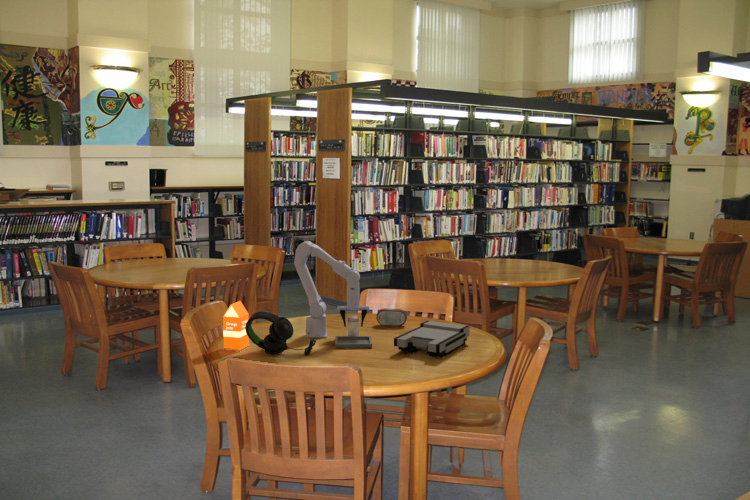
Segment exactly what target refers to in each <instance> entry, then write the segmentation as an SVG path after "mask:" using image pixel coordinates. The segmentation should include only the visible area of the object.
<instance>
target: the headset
mask: <svg viewBox="0 0 750 500" xmlns="http://www.w3.org/2000/svg"><path fill="white" fill-rule="evenodd" d="M261 319H262V320H266V321H268V322H271V324H270V326H269V328H268V331H269V333H268V334H267V335H266V336H265V337H264V338H263V339H262V338H260V336H258V335H257V334H256V332H255V330H254V329H253V327H252V324H253V321H256V320H261ZM245 330H246V333H247V335H248V337H249V341H251V342H252V343H253V344H255V346H257V347H258V348H260V349H262V350H264V353H266V355H269V354H270V355H269V356H276V355H280V354H282V353H283V352H285V351H287V350H294V351H301V350H304V351H303V354H304V355H305V356H308V355H310V354H311V353H312V351H313V349H314V348H313V347H314V346H315V345H316V342H317V340H316V339H315V338H312V339H310V340H309V344H308V346H307V347H305V348H299V349H298V348H297V349H295V348H292V347H288V343H287V340H290V339H291V338H292V337H293V335H294V326H293V324H292V322H291V321H290V320H289V319H288V318H287V317H284V316H278V315H276V314H274V313H271V312H268V311H257V312H254V313H252V314H251V316H249V319H248V321H247V323H246V326H245Z"/></svg>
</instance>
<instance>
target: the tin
mask: <svg viewBox="0 0 750 500" xmlns="http://www.w3.org/2000/svg"><path fill="white" fill-rule="evenodd" d="M375 317H376V321H377V323H378V324H379V325H381V326H386V327H401V326H403V325H405V323H406V322H407V321H408V315H407V313H406V312H405V310H403V309H401V308H380V309H379V310H378V311H377V313H376V316H375Z"/></svg>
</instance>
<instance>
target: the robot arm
mask: <svg viewBox="0 0 750 500" xmlns="http://www.w3.org/2000/svg"><path fill="white" fill-rule="evenodd" d="M309 257H317V258H319V259H321V260H322V261H324V262H325V263H327V264H328V265H330V266H331V267H332V271H333V272H335V273H336V274H338V276H340V277H341V278H343V279H345V281H346V282H347V286H346V305H337V312H339V315H340V317H341V319H342V321H343V322H342V323H343V327H345V328H347V327H346V326H347V324H346V312H347V311H348V312H351V311H352V312H358V311H359V312H360V311H361V313H360V314H361V315H360V317H361V321H360V326H361V327H360V328H362V327H363V325H364V321H365V319H366V318H365V317H366V316H367V313H368V312H370V306H369V305H360V302H361V301H360V298H361V297H360V294H361V293H360V280H361V279H360V278H361V274H360V272H359V271H358V270H357V269H354V267H351V266H349V265H348V264H346V261H345V260H340V259H339V260H336V259H335V258H334V257H332V255H330V254H329V253H327V252H326V250H324V249H323V248H321V247H320V246H319V245H317V244H316V243H314V242H312V241H310V240H304V241H303V242H300V244H298V245H297V247H296V249H295V255H294V261H293V264H294V267H295V270H296V272H297V274H298V277H299V279H300V282H301V284H302V287H303V289H304V291H305V294H306V296H307V300H308V306H309V313H310V316H307V317H306V318H305V338H307V339H308V338H312V339H315V338H319V339H321V338H323V339H324V338H328V332H327V315H326V313H325V312H326V311H327V309H328V308H327V304H326V302H325V301H324V300H323V299H322V296H320V294H319V292H318V290H317V288H316V286H315V283H314V280H313V278H312V276H311V272H310V270H309V268H308V264H307V261H308V259H309Z"/></svg>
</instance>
